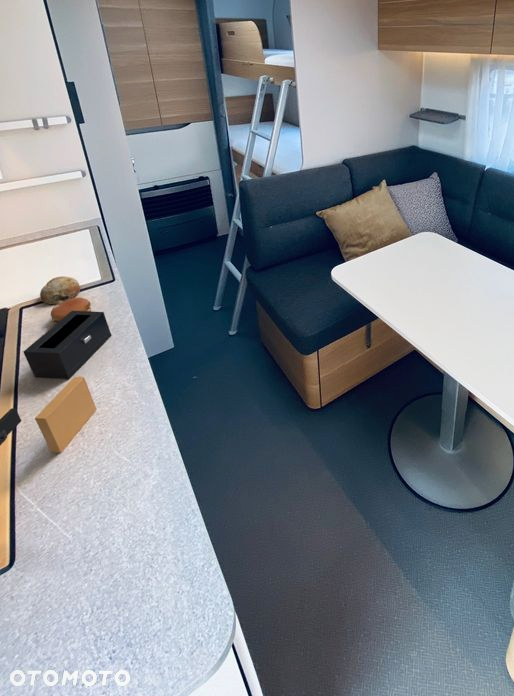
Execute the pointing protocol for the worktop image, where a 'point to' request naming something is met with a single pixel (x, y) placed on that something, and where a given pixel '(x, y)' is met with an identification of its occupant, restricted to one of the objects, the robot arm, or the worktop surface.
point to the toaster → (68, 345)
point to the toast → (66, 414)
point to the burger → (69, 308)
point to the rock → (59, 290)
